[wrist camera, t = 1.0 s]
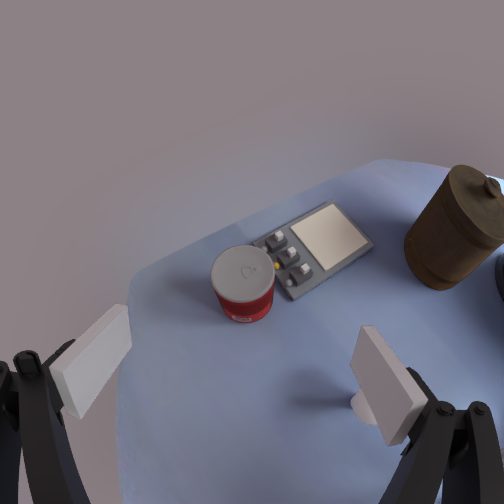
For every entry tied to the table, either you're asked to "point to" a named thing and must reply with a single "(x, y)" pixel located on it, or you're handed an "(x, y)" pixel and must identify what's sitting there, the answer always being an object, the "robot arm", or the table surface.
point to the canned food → (244, 282)
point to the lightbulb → (362, 408)
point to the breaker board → (314, 248)
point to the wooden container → (456, 228)
